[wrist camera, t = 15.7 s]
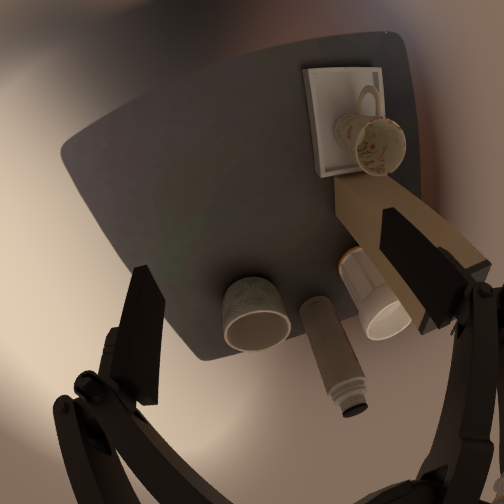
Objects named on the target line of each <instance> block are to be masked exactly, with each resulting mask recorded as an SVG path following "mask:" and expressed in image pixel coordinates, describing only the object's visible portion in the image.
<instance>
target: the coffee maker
mask: <svg viewBox="0 0 504 504" xmlns="http://www.w3.org/2000/svg"><path fill="white" fill-rule="evenodd" d="M302 73H303V79H304V85H305V91H306V98H307V105H308V112H309V120H310V127H311V135H312V144H313V153H314V163H315V172H316V173H317V174H318V175H319V176H320V177H321V178H322V177H328V176H333V175H335V176H334V190H335V215H336V216H337V218H338V219H339V220H340V221H341V222H342V224H343V225H344V226H345V227H346V229H347V230H348V231H349V233H350V234H351V235H352V236H353V238H354V239H355V240H356V242H357V243H358V244H359V245H360V247H361V248H362V249H363V251H364V252H365V253H366V255H367V256H368V257H369V259H370V260H371V261H372V263H373V264H374V265H375V267H376V268H377V270H378V271H379V272H380V274H381V275H382V277H383V278H384V279H385V281H386V282H387V284H388V285H389V287H390V288H391V289H392V291H393V292H394V294H395V295H396V297H397V298H398V300H399V301H400V303H401V304H402V306H403V307H404V309H405V310H406V312H407V313H408V315H409V316H410V318H411V319H412V321H413V322H414V324H415V325H416V327H417V329H418V330H419V332H420V334H421V335H424V334H426V333H428V332H430V331H432V330H434V329H436V328H437V326H436V325H435V323H434V322H433V320H432V319H431V317H430V316H429V314H428V313H427V311H426V310H425V309H424V307H423V306H422V304H421V303H420V302H419V300H418V299H417V297H416V296H415V295H414V293H413V292H412V291H411V289H410V288H409V286H408V285H407V284H406V282H405V281H404V280H403V278H402V277H401V276H400V275H399V273H398V272H397V271H396V269H395V268H394V267H393V266H392V264H391V263H390V262H389V260H388V259H387V258H386V257H385V255H384V254H383V253H382V252H381V251H380V249H379V245H380V236H381V225H382V212H383V209H386V208H391V207H394V208H395V209H396V210H398V211H399V212H400V213H401V214H402V215H403V216H404V217H405V218H406V219H407V220H409V221H410V222H411V223H412V224H413V225H414V226H415V227H416V228H417V229H418V230H419V231H420V232H421V233H422V234H423V235H424V236H425V237H426V238H427V239H428V240H429V241H430V242H431V243H432V244H433V245H434V246H435V247H436V248H437V247H442V248H444V249H446V250H447V251H449V252H450V253H451V254H452V255H453V256H454V257H455V259H457V261H458V262H459V264H461V265H462V266H463V267H464V268H465V269H466V270H467V271H468V272H469V274H470V275H471V276H472V277H473V278H474V279H475V280H476V281H477V282H479V281H480V282H485V280H486V277H487V275H488V272H489V270H490V267H491V265H492V264H491V263H490V262H489V261H488V260H487V259H486V258H485V257H484V256H483V255H482V254H481V253H480V252H479V251H478V250H477V249H476V248H475V247H474V246H473V245H472V244H471V243H470V242H469V241H468V240H467V239H466V238H465V237H464V236H462V235H461V234H460V233H459V232H458V231H457V230H456V229H455V228H453V227H452V226H451V225H450V224H449V223H448V222H447V221H446V220H444V219H443V218H442V217H441V216H440V215H438V214H437V213H436V212H435V211H433V210H432V209H431V208H430V207H429V206H427V205H426V204H425V203H423V202H422V201H421V200H420V199H418V198H417V197H416V196H415V195H413V194H412V193H411V192H409V191H408V190H407V189H405V188H404V187H402V186H401V185H400V184H398V183H397V182H396V181H394V180H393V179H391V178H390V177H388V176H387V175H385V176H372V175H370V174H368V173H366V172H365V171H363V170H362V169H361V168H360V167H359V166H358V165H357V164H356V162H355V161H354V160H353V159H352V158H351V157H350V156H349V155H348V154H347V153H346V152H345V151H344V150H343V149H342V148H341V147H340V146H339V145H338V144H337V142H336V141H335V138H334V134H333V131H334V126H335V124H336V122H337V121H338V119H340V118H341V117H342V116H345V115H349V114H352V115H358V97H359V95H360V92H361V90H362V89H363V88H364V87H365V86H367V85H372V86H374V87H375V88H376V89H377V90H378V91H379V93H380V95H381V97H382V101H383V114H382V117H383V118H385V104H384V90H383V80H382V71H381V68H377V67H330V68H312V69H302ZM361 115H365V116H376V100H375V98H374V96H373V95H372V94H371V93H368V94H366V96H365V97H364V100H363V105H362V114H361ZM357 171H358V172H357ZM351 172H352V173H351ZM345 173H346V174H345ZM339 174H341V175H339ZM455 319H456V318H455V316H454V317H453V319H452V321H453V320H455Z"/></svg>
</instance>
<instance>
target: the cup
mask: <svg viewBox="0 0 504 504" xmlns="http://www.w3.org/2000/svg"><path fill="white" fill-rule="evenodd" d="M338 272H339V274H340V276H341V278H342V280H343V282H344V284H345V286H346V288H347V290H348V292H349V294H350V296H351V297H352V299H353V301H354V303H355V305H356V307H357V309H358V316H359V320H360V322H361V324H362V327H363V329H364V331H365V333H366V335H367V337H368V338H370V339H372V340H383V339H386V338H389V337H391V336H393V335H395V334H397V333H399V332H400V331H401V330H403V329H404V328H405V327H406V326H407V325H409V323H410V322H411V321H412V319H411V318H410V316H409V315H408V313H407V312H406V310H405V309H404V307H403V306H402V304H401V303H400V301H399V300H398V298H397V297H396V295H395V294H394V292H393V291H392V289H391V288H390V287H389V285H388V284H387V282H386V281H385V279H384V278H383V277H382V275H381V274H380V272H379V271H378V270H377V268H376V267H375V265H374V264H373V263H372V261H371V260H370V259H369V257H368V256H367V255H366V253H365V252H364V251H363V249H362V248H361V247H360V246H356V247H353V248H351V249H349V250H348V251H347V252H346V253H345V254H344V255H343V256H342V258H341V259H340V261H339V264H338Z"/></svg>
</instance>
